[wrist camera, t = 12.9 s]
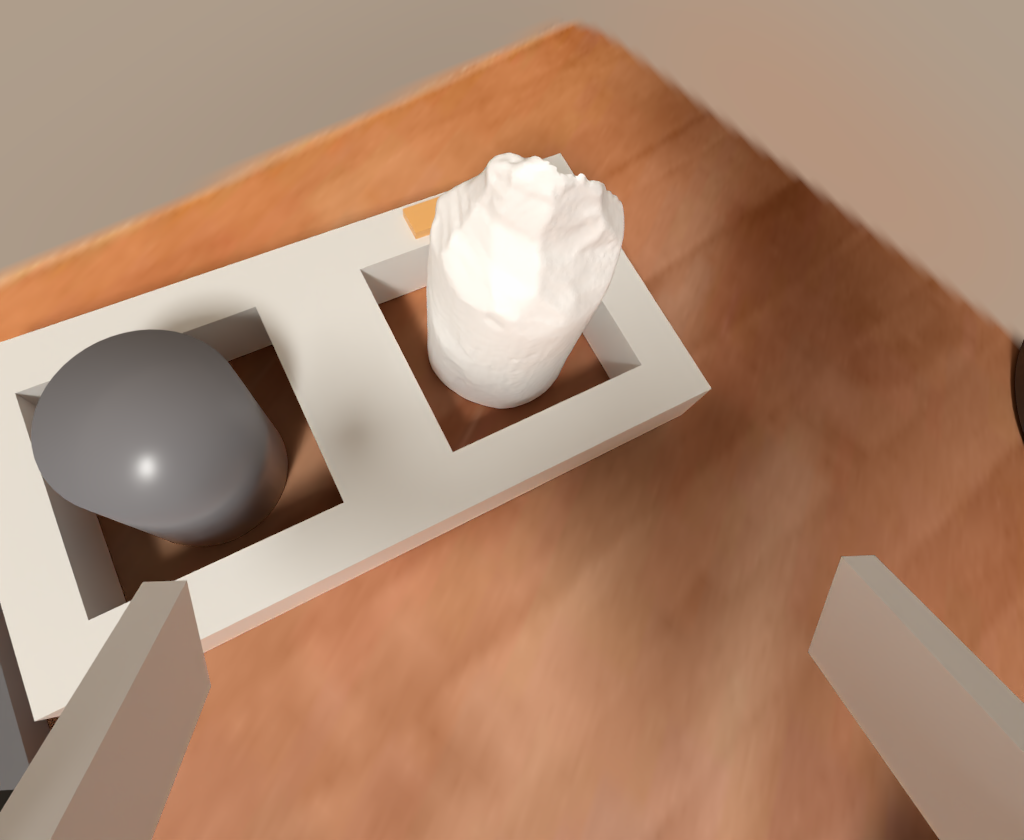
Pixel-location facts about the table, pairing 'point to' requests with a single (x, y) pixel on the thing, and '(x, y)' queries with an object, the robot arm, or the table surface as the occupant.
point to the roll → (516, 276)
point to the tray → (15, 717)
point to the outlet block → (271, 437)
